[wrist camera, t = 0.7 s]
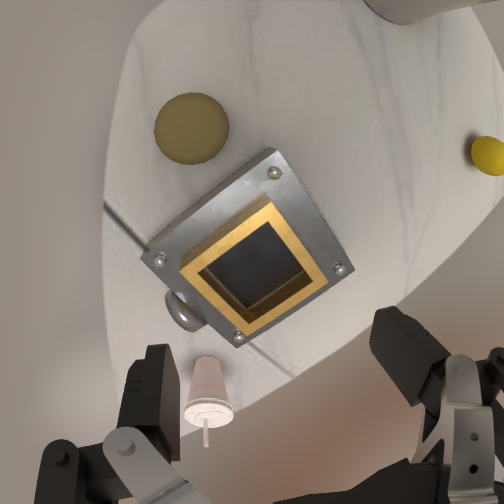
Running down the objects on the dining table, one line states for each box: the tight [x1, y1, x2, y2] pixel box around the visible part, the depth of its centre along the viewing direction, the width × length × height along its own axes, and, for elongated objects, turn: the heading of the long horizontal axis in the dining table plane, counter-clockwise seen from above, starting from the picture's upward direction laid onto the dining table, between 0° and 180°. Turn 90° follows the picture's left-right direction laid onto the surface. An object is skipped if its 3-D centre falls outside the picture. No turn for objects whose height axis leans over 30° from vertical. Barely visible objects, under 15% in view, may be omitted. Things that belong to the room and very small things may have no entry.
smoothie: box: [184, 355, 233, 447], centre depth 34 cm, size 6×6×14 cm
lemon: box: [471, 136, 504, 176], centre depth 27 cm, size 6×6×8 cm
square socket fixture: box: [140, 147, 355, 348], centre depth 30 cm, size 19×16×6 cm
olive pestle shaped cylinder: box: [154, 93, 229, 165], centre depth 21 cm, size 6×6×11 cm
